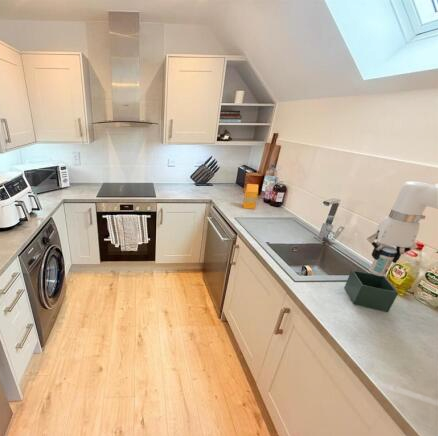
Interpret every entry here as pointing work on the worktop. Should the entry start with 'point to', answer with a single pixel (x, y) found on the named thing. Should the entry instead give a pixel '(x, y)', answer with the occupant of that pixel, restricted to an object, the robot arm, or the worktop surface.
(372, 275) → the waste bin
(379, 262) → the white and teal cylinder
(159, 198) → the worktop surface
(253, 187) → the orange juice
